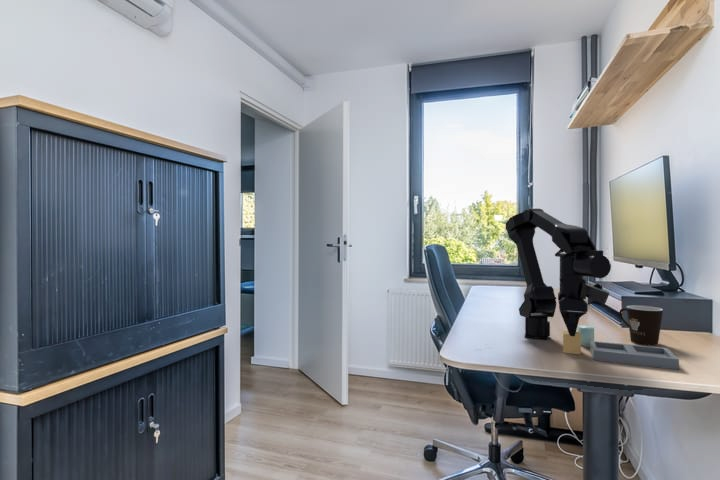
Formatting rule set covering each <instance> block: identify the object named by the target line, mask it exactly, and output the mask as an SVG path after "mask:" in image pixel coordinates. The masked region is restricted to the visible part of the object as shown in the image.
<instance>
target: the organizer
mask: <svg viewBox="0 0 720 480" xmlns="http://www.w3.org/2000/svg"><path fill="white" fill-rule="evenodd" d="M589 351H590V355H591V356H592V359H593V361H601V362H608V363H616V364H617V363H619V364H626V365H635V366H643V367H644V366H645V367H650V368H651V367H652V368H659V369H662V368H663V369H669V370H670V369H671V370H680V358H678V357H677V356H676V355H675V354H674V353H673V352H672V351H671V350H670V349H668V348H667V347H659V346H651V345H641V344H638V345H637V344H630V343H629V344H628V343H620V342H619V343H618V342H609V341H608V342H607V341H598V340H594V341H590V347H589Z"/></svg>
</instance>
